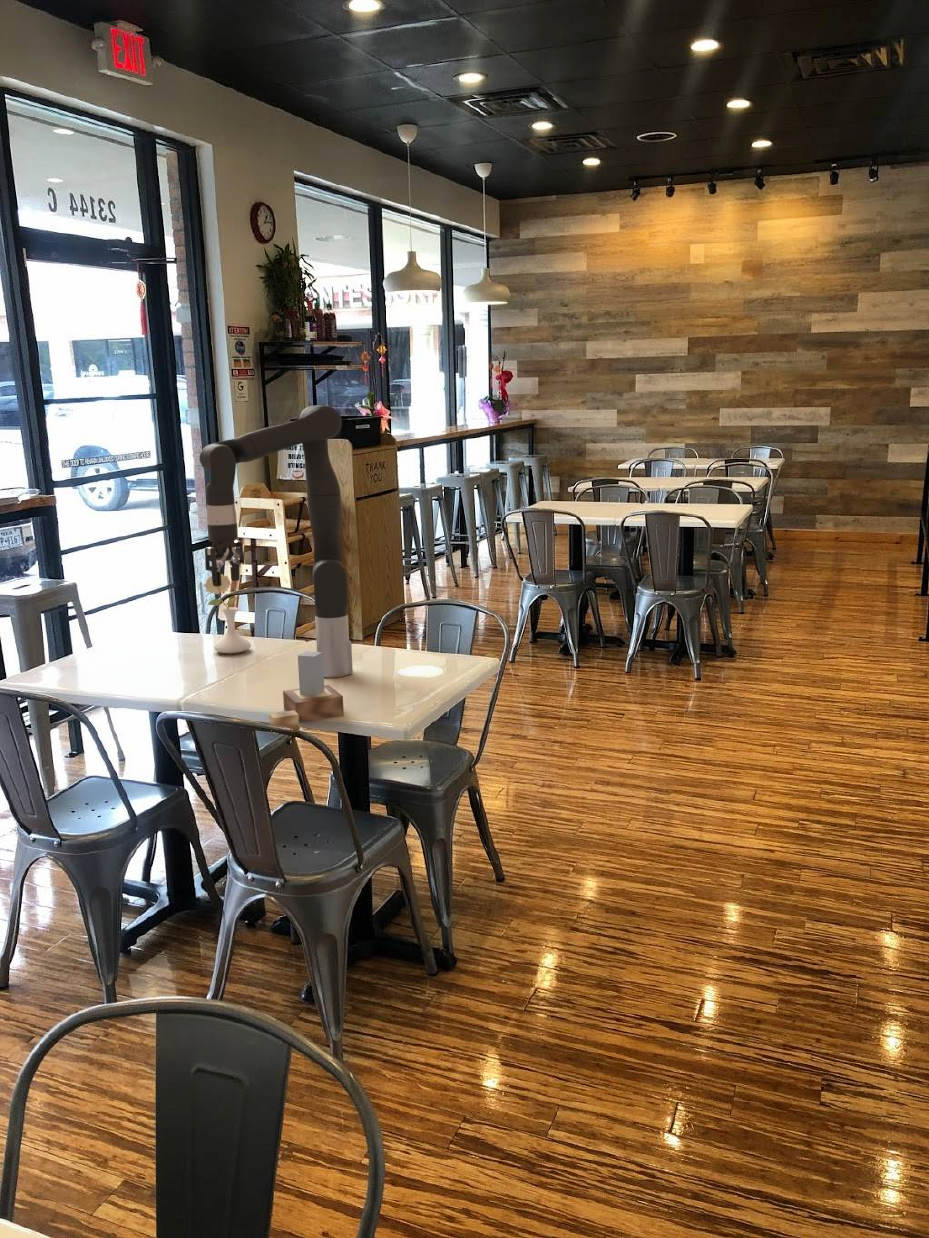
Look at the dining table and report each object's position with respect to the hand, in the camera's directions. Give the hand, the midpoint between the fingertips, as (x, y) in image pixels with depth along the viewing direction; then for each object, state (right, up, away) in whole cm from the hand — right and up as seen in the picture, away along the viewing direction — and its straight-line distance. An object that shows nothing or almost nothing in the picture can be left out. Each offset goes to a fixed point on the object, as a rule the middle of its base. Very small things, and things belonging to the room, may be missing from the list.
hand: (226, 583), depth 277 cm
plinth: (+25, -33, -13) cm, 43 cm away
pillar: (+25, -28, -14) cm, 40 cm away
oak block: (+20, -36, -26) cm, 49 cm away
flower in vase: (-11, -20, +53) cm, 57 cm away
